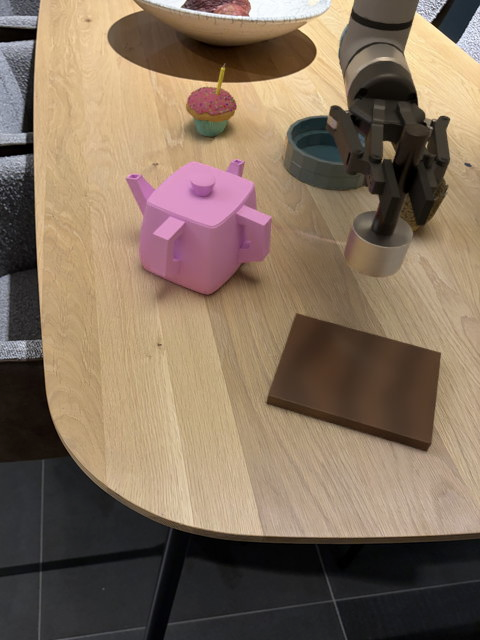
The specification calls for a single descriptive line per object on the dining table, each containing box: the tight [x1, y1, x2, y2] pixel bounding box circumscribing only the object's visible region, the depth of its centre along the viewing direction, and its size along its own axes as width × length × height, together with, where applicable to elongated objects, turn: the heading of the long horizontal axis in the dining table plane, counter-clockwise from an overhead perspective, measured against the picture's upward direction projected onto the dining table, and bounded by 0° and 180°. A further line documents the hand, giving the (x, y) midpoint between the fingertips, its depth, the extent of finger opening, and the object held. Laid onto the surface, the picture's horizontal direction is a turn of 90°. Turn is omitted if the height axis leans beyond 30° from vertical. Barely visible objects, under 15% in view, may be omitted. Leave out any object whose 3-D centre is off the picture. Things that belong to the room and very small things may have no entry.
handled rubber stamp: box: [343, 123, 430, 278], centre depth 61 cm, size 6×6×15 cm
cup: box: [400, 177, 449, 233], centre depth 88 cm, size 8×7×8 cm
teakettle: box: [125, 158, 273, 296], centre depth 79 cm, size 17×17×12 cm
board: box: [266, 312, 442, 452], centre depth 70 cm, size 18×14×2 cm
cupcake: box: [185, 63, 238, 138], centre depth 102 cm, size 9×8×12 cm
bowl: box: [282, 114, 366, 191], centre depth 99 cm, size 15×15×5 cm
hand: (408, 211), depth 55 cm, fingers closed on handled rubber stamp, 2 cm apart
